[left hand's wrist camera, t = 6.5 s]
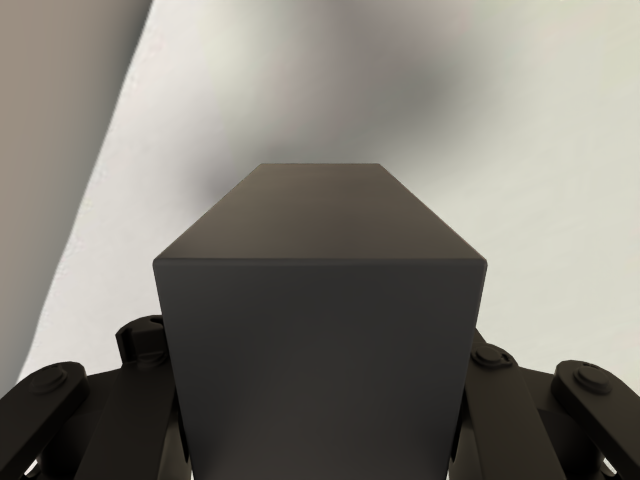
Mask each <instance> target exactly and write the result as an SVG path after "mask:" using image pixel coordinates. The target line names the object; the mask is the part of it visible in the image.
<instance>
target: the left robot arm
mask: <svg viewBox="0 0 640 480" xmlns="http://www.w3.org/2000/svg"><path fill="white" fill-rule="evenodd" d="M115 336H116V340H117V344H118V348H119V352H120V356H121V359H122V363H123V364H122V366H121V368H119V369H116V370H112V371H108V372H103V373H98V374H94V375H89V376H87V375H86V372H85V369H84V367H83V366H82V365H81V364H80V363H77V362H71V361H69V362H60V363H56V364H52V365H48V366H46V367H43V368H41V369H39V370H37V371H35V372H33V373H31V374H30V375H28V376H27V377H26V378H24V379H23V380H22V381H20V382H19V383H18V384H17V385H16V386H15V387H13V388H12V389H11V390H10V391H9V392H8V393H7V394H6V395H5V396H4V397H2V398H1V399H0V480H191V472H192V467H191V462H190V457H189V451H188V446H187V441H186V436H185V431H184V426H183V420H182V415H181V410H180V405H179V400H178V395H177V389H176V384H175V379H174V374H173V369H172V364H171V358H170V353H169V348H168V343H167V338H166V333H165V327H164V322H163V317H162V315H151V316H146V317H141V318H139V319H136V320H134V321H131V322H129V323H128V324H126V325H125V326H123V327H122V328H120V330H119V331H118V332H117V333H116V334H115ZM604 458H606V459H607V460H608V461H609V463H610V464H611V465H612V466H613V467H614V469H615V470H616V471H617V473H616V474H614V473H613V472H612V471H611V470H610V469H609V468H608V467H607V466H606V464H605V463H604V462H603V461H604ZM35 459H36V460H37V462H38V463H37V464H36V465H35V467H34V468H33V469H32V470H31V471H30V472H29V473H28V474H27V475H24V473H25V472H26V470H27V469H28V468H29V467H30V465H31V464H32V463H33V462H34V461H35ZM448 471H449V480H640V397H639V396H638V395H637V394H636V393H635V392H634V391H633V390H631V389H630V388H629V387H628V386H627V385H626V384H625V383H624V382H623V381H621V380H620V379H619V378H617V377H616V376H615V375H613V374H612V373H610V372H609V371H607V370H604V369H602V368H600V367H599V366H597V365H594V364H590V363H587V362H583V361H576V360H567V361H562V362H560V363H559V364H558V365H557V366H556V370H555V373H554V375H553V374H549V373H544V372H539V371H535V370H530V369H526V368H523V367H519V366H518V363H517V362H516V361H515V359H514V358H513V356H511V355H510V354H509V353H508V352H506V351H505V350H504V349H501V348H499V347H497V346H495V345H492V344H488V343H486V341H485V340H484V339H483V337H482V336H481V334H480V333H479V332H478V330H477V329H476V328H475V333H474V338H473V343H472V348H471V354H470V359H469V364H468V369H467V374H466V379H465V385H464V390H463V395H462V400H461V405H460V410H459V416H458V421H457V426H456V431H455V436H454V441H453V447H452V452H451V457H450V462H449V467H448Z"/></svg>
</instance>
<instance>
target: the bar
mask: <svg viewBox="0 0 640 480" xmlns="http://www.w3.org/2000/svg"><path fill="white" fill-rule="evenodd" d="M487 266H488V265H487V260H486V259H485V258H484V257H483V256H482V255H480V254H479V253H478V252H477V251H476V250H475V249H474V248H473V247H472V246H470V245H469V244H468V243H467V242H466V241H465V240H464V239H463V238H462V237H460V236H459V235H458V234H457V233H456V232H455V231H454V230H453V229H451V228H450V227H449V226H448V225H447V224H446V223H445V222H444V221H443V220H441V219H440V218H439V217H438V216H437V215H436V214H435V213H434V212H433V211H431V210H430V209H429V208H428V207H427V206H426V205H425V204H424V203H422V202H421V201H420V200H419V199H418V198H417V197H416V196H415V195H414V194H412V193H411V192H410V191H409V190H408V189H407V188H406V187H405V186H404V185H402V184H401V183H400V182H399V181H398V180H397V179H396V178H395V177H393V176H392V175H391V174H390V173H389V172H388V171H387V170H386V169H385V168H383V167H382V166H381V165H380V164H260V165H259V166H258V167H257V168H256V169H255V170H254V171H252V172H251V173H250V174H249V175H248V176H247V177H246V178H245V179H243V180H242V181H241V182H240V183H239V184H238V185H237V186H236V187H235V188H233V189H232V190H231V191H230V192H229V193H228V194H227V195H226V196H224V197H223V198H222V199H221V200H220V201H219V202H218V203H217V204H215V205H214V206H213V207H212V208H211V209H210V210H209V211H208V212H207V213H205V214H204V215H203V216H202V217H201V218H200V219H199V220H198V221H196V222H195V223H194V224H193V225H192V226H191V227H190V228H189V229H187V230H186V231H185V232H184V233H183V234H182V235H181V236H180V237H179V238H177V239H176V240H175V241H174V242H173V243H172V244H171V245H170V246H168V247H167V248H166V249H165V250H164V251H163V252H162V253H161V254H159V255H158V256H157V257H156V258H155V259H154V261H153V270H154V276H155V281H156V286H157V291H158V296H159V301H160V307H161V312H162V317H163V322H164V327H165V333H166V338H167V343H168V348H169V353H170V358H171V364H172V369H173V374H174V379H175V384H176V389H177V395H178V400H179V405H180V410H181V415H182V420H183V426H184V431H185V436H186V441H187V446H188V451H189V457H190V462H191V467H192V472H193V477H194V480H446V477H447V472H448V467H449V462H450V457H451V452H452V447H453V441H454V436H455V431H456V426H457V421H458V416H459V410H460V405H461V400H462V395H463V390H464V385H465V379H466V374H467V369H468V364H469V359H470V354H471V348H472V343H473V338H474V333H475V328H476V323H477V317H478V312H479V307H480V302H481V297H482V292H483V287H484V281H485V276H486V271H487Z"/></svg>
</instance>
